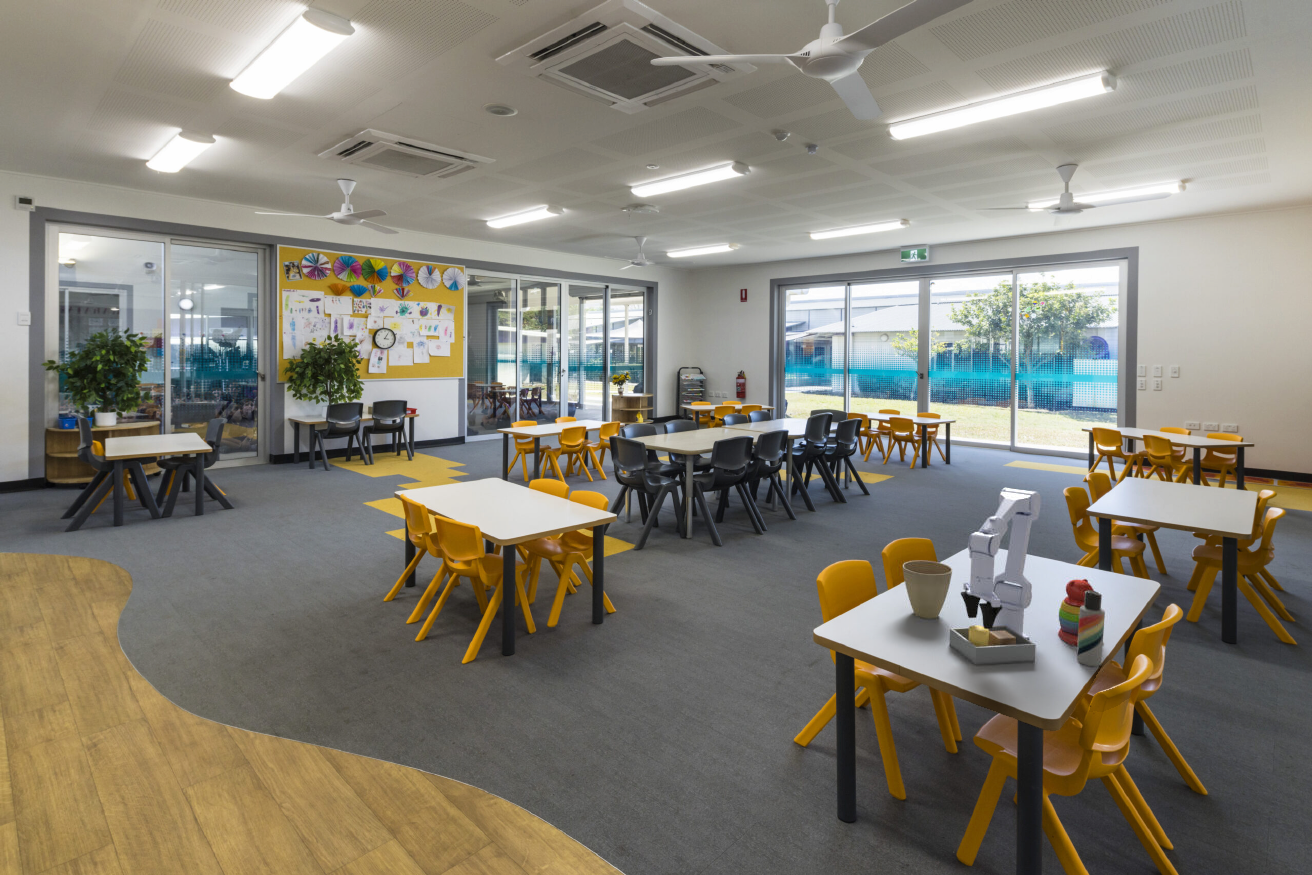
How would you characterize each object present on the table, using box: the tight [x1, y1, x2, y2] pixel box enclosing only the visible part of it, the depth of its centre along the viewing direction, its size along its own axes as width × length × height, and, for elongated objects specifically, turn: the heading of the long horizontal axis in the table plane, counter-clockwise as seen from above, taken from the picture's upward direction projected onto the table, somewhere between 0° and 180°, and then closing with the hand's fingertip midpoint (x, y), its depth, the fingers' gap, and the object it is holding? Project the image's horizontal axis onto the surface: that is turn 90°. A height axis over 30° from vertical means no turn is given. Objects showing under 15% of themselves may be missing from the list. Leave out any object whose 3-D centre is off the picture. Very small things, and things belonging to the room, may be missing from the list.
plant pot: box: [902, 560, 953, 620], centre depth 216 cm, size 15×15×16 cm
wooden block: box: [988, 630, 1016, 646], centre depth 188 cm, size 5×5×5 cm
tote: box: [949, 626, 1037, 666], centre depth 188 cm, size 17×13×5 cm
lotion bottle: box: [1076, 590, 1106, 667], centre depth 181 cm, size 6×6×20 cm
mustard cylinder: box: [968, 624, 989, 647], centre depth 187 cm, size 5×5×7 cm
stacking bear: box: [1057, 578, 1095, 647], centre depth 197 cm, size 11×10×18 cm
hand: (979, 622), depth 187 cm, fingers open, 7 cm apart
